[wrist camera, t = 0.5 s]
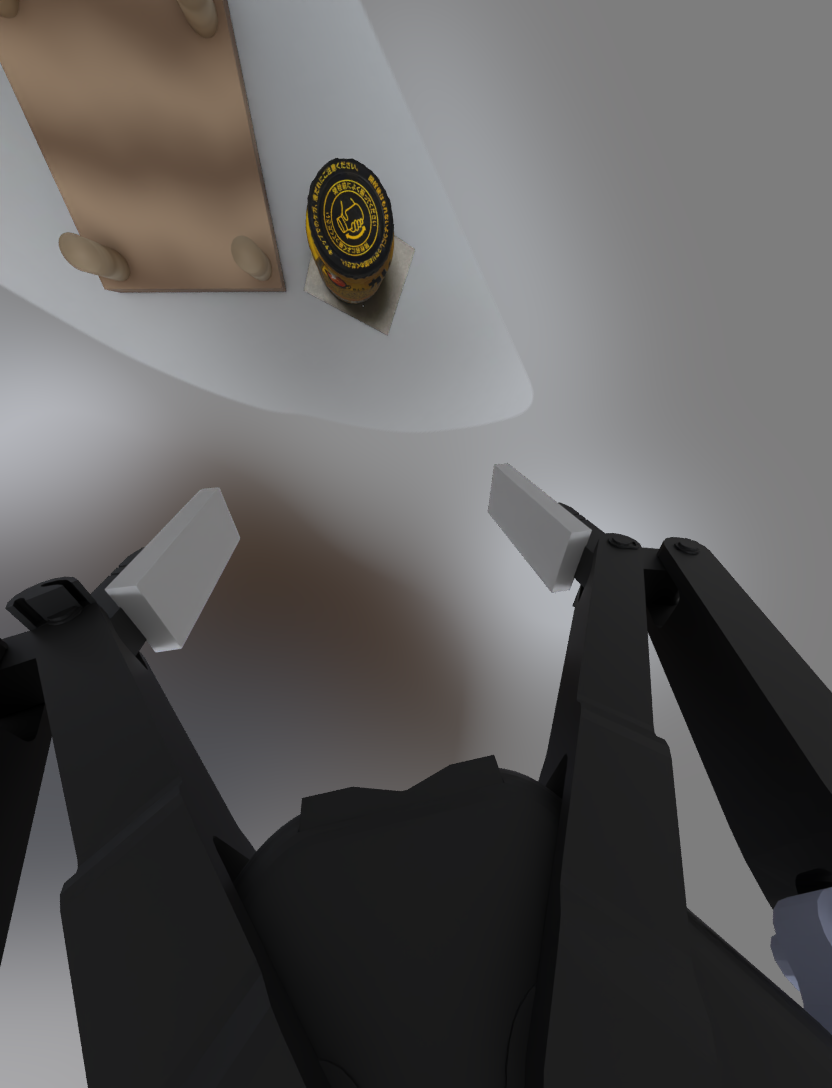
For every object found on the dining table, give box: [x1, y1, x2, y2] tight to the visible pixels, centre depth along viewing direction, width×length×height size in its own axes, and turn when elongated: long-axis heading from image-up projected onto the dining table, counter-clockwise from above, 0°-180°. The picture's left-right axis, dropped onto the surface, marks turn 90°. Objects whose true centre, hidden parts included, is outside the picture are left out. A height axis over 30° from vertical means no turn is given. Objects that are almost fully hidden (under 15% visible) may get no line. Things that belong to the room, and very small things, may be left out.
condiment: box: [304, 158, 415, 335], centre depth 24 cm, size 7×8×12 cm
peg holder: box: [0, 0, 286, 293], centre depth 21 cm, size 15×14×6 cm
